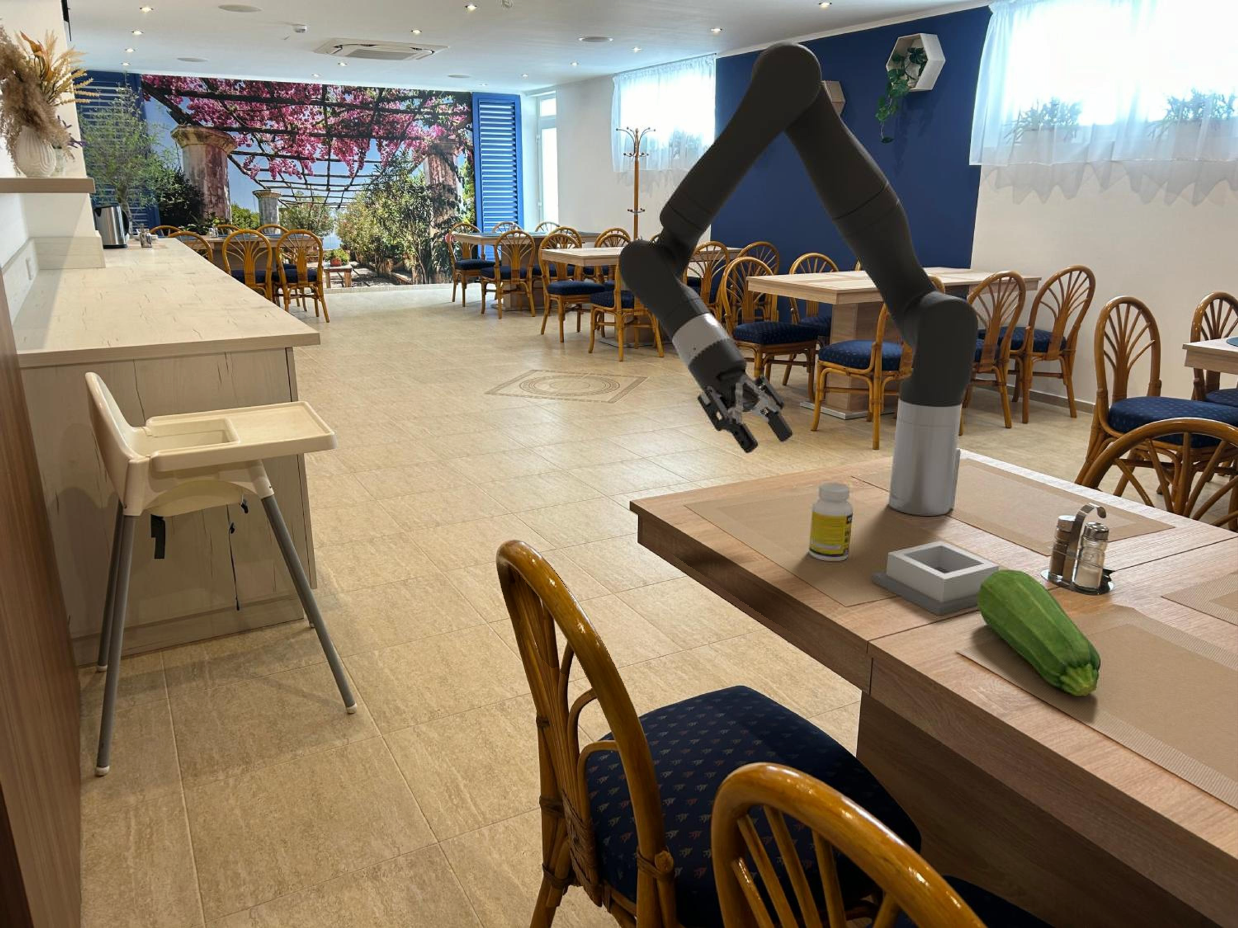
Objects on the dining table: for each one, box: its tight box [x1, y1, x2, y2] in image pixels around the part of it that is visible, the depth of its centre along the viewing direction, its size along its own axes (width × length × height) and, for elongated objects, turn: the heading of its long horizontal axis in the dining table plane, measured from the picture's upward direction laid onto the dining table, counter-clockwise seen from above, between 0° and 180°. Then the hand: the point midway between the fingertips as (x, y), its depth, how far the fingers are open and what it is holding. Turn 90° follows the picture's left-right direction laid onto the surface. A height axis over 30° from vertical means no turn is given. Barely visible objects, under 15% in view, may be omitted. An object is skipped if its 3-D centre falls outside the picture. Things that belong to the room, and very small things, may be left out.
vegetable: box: [976, 569, 1102, 697], centre depth 95 cm, size 7×7×20 cm
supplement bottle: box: [808, 482, 854, 562], centre depth 122 cm, size 5×5×10 cm
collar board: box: [871, 540, 1000, 616], centre depth 112 cm, size 12×11×4 cm
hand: (770, 444), depth 126 cm, fingers open, 8 cm apart
